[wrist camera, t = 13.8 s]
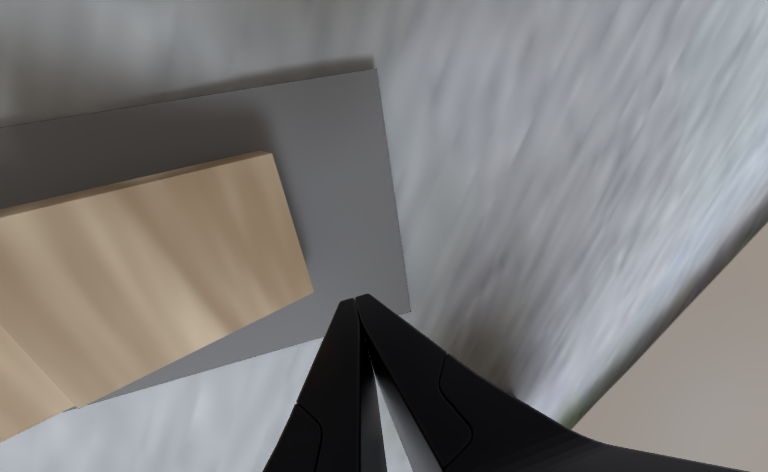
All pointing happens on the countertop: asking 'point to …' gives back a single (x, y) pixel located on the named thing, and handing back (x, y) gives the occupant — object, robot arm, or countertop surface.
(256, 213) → the domino
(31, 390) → the domino
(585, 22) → the countertop surface
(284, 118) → the slate mat
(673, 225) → the countertop surface
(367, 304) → the robot arm
